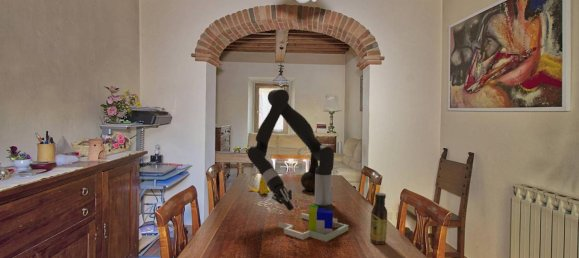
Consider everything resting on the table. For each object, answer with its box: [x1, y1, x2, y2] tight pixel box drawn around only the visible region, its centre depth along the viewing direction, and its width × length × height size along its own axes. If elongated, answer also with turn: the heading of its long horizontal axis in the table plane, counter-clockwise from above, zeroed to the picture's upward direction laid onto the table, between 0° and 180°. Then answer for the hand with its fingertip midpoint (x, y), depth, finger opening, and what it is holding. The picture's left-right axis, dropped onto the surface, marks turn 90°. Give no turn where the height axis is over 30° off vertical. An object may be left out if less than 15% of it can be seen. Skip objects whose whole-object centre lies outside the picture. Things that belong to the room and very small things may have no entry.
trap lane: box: [278, 213, 349, 243], centre depth 143 cm, size 25×27×2 cm
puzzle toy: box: [307, 204, 334, 235], centre depth 140 cm, size 10×10×10 cm
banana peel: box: [247, 175, 271, 195], centre depth 210 cm, size 17×19×17 cm
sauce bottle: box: [369, 192, 388, 245], centre depth 129 cm, size 7×6×20 cm
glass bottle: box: [300, 150, 319, 192], centre depth 218 cm, size 18×18×28 cm
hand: (291, 209), depth 151 cm, fingers closed
